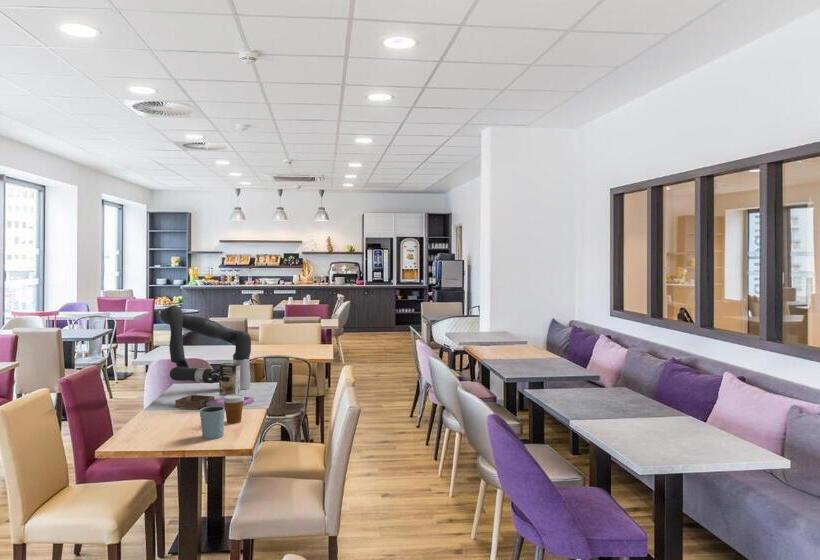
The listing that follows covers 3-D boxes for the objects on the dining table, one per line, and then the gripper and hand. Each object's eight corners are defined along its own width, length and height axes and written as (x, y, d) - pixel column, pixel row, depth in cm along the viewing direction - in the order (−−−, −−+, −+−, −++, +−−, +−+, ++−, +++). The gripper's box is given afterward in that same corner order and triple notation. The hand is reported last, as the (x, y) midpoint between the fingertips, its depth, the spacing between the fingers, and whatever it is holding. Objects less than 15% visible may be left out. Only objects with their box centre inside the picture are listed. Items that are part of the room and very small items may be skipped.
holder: (191, 401, 316) (191, 394, 315) (214, 403, 311) (214, 396, 311) (175, 407, 303) (175, 400, 303) (198, 409, 299) (198, 402, 299)
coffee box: (218, 396, 305) (218, 364, 304) (223, 393, 311) (223, 362, 311) (235, 396, 304) (235, 365, 303) (240, 393, 310) (240, 363, 310)
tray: (225, 399, 319) (225, 395, 319) (253, 402, 314) (253, 397, 314) (206, 407, 302) (206, 402, 302) (235, 410, 297) (235, 405, 297)
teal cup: (229, 436, 255) (229, 408, 254) (207, 441, 247) (207, 413, 247) (217, 431, 261) (216, 404, 261) (195, 436, 254) (195, 409, 253)
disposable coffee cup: (218, 423, 274) (218, 397, 274) (233, 418, 283) (233, 393, 282) (234, 425, 270) (233, 399, 269) (249, 420, 278) (248, 395, 278)
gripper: (197, 371, 305) (225, 373, 300) (214, 366, 318) (241, 368, 313) (197, 385, 305) (225, 388, 300) (214, 380, 319) (241, 382, 314)
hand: (233, 378), depth 307 cm, fingers closed on coffee box, 7 cm apart
